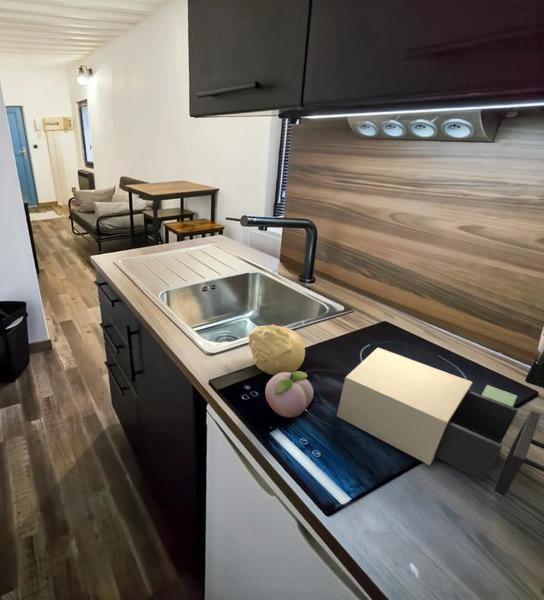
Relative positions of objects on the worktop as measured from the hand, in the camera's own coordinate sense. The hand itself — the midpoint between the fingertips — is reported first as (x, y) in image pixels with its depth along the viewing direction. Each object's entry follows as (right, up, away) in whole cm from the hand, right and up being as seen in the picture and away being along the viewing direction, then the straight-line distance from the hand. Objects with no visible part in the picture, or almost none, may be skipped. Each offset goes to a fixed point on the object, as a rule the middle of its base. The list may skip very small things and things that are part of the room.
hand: (538, 383), depth 59 cm
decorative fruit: (-36, -9, +14) cm, 40 cm away
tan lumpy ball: (-33, -3, +28) cm, 43 cm away
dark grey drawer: (-8, -12, +2) cm, 15 cm away
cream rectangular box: (-16, -9, +11) cm, 22 cm away
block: (+3, -8, +11) cm, 14 cm away
